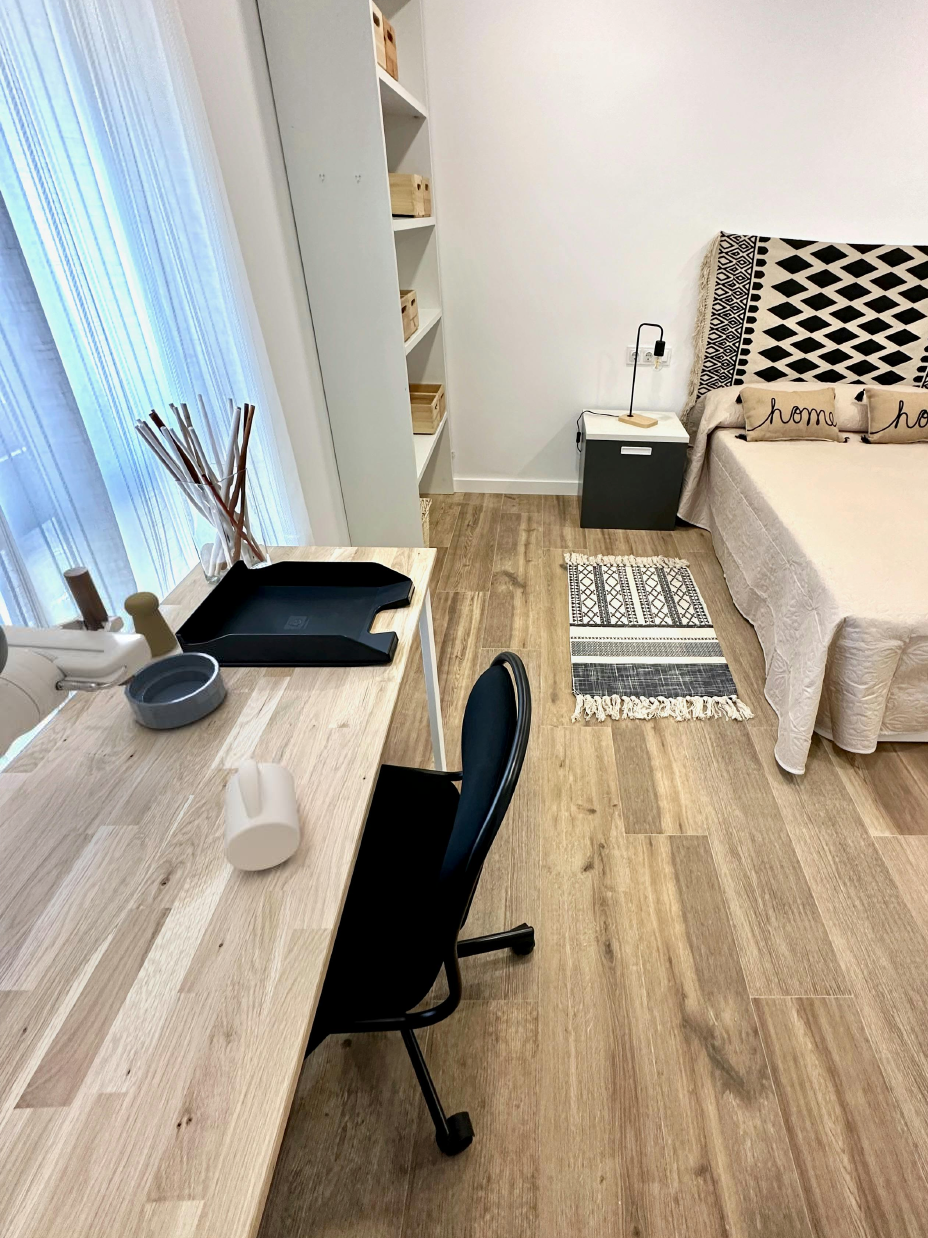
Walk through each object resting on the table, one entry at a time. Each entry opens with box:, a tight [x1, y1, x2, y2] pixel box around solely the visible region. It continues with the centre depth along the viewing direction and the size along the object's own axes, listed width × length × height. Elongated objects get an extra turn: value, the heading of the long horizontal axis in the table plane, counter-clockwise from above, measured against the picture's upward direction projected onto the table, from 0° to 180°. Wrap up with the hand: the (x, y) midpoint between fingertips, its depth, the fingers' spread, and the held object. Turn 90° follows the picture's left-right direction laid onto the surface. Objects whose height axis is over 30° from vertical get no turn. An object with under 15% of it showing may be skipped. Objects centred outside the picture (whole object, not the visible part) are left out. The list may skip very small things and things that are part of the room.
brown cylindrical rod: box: [62, 566, 135, 687], centre depth 83 cm, size 3×3×18 cm
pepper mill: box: [123, 591, 178, 657], centre depth 110 cm, size 6×6×11 cm
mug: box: [224, 758, 301, 872], centre depth 77 cm, size 8×10×12 cm
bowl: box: [123, 651, 227, 730], centre depth 99 cm, size 13×13×6 cm
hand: (103, 619), depth 83 cm, fingers closed on brown cylindrical rod, 2 cm apart
